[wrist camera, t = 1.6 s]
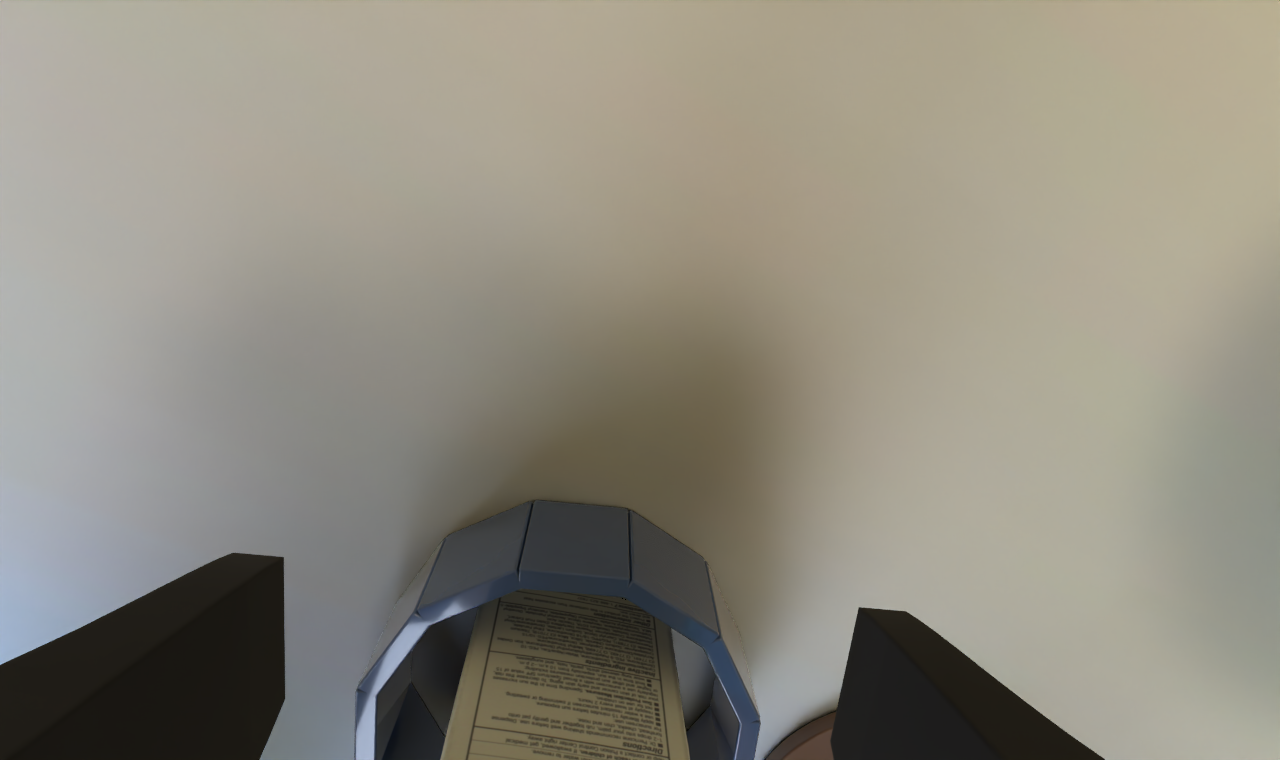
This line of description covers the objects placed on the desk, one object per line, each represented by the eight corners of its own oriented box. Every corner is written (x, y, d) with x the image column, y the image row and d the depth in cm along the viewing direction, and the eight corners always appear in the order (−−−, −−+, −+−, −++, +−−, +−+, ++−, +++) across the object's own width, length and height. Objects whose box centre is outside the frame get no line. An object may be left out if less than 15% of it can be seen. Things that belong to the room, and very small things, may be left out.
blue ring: (388, 784, 24) (351, 893, 20) (398, 486, 21) (357, 554, 18) (710, 807, 24) (725, 916, 21) (759, 519, 21) (785, 591, 18)
